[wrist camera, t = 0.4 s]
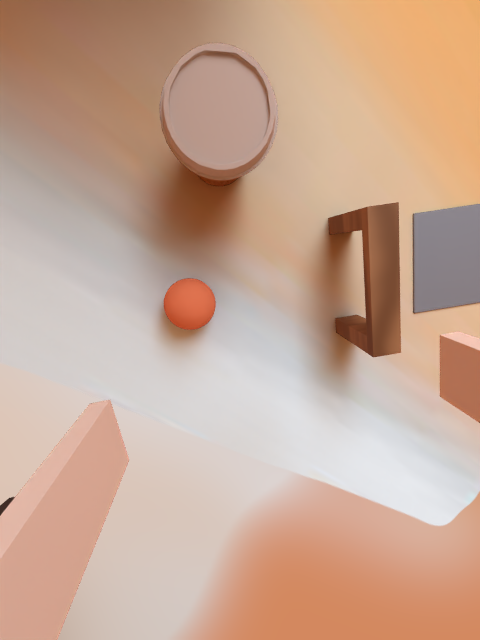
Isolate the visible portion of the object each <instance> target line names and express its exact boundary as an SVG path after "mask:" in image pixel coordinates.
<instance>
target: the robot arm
mask: <svg viewBox="0 0 480 640" xmlns="http://www.w3.org/2000/svg"><path fill="white" fill-rule="evenodd" d="M440 397H441V398H443V399H444V400H446V401H447V402H449V403H450V404H452V405H453V406H455V407H457V408H458V409H460V410H461V411H463V412H464V413H466V414H467V415H469V416H470V417H472V418H473V419H475V420H476V421H478V422H479V423H480V339H479V338H476V337H473V336H470V335H467V334H465V333H462V332H459V331H457V332H452V333H447V334H442V335H440ZM128 462H129V458H128V455H127V452H126V449H125V446H124V442H123V439H122V436H121V433H120V430H119V426H118V423H117V420H116V417H115V414H114V411H113V407H112V404H111V401H110V400H106V401H101V402H96V403H91V404H89V405H88V407H87V408H86V409H85V410H84V412H83V413H82V414H81V415H80V417H79V418H78V419H77V420H76V422H75V423H74V424H73V425H72V427H71V428H70V429H69V430H68V432H67V433H66V434H65V436H64V437H63V438H62V439H61V440H60V442H59V443H58V444H57V445H56V447H55V448H54V449H53V450H52V452H51V453H50V454H49V456H48V457H47V458H46V459H45V461H44V462H43V463H42V464H41V465H40V467H39V468H38V469H37V470H36V472H35V473H34V474H33V475H32V477H31V478H30V479H29V481H28V482H27V483H26V484H25V485H24V487H23V488H22V489H21V491H20V492H19V493H18V494H17V496H16V497H12V498H9V499H8V500H6V501H5V502H4V503H3V504H2V505H0V640H57V639H58V636H59V634H60V631H61V629H62V626H63V624H64V621H65V619H66V616H67V614H68V611H69V609H70V606H71V603H72V601H73V598H74V596H75V594H76V591H77V589H78V586H79V584H80V581H81V579H82V576H83V574H84V571H85V569H86V566H87V564H88V561H89V559H90V556H91V554H92V552H93V549H94V547H95V544H96V541H97V539H98V537H99V534H100V532H101V529H102V527H103V524H104V522H105V519H106V516H107V514H108V512H109V509H110V507H111V504H112V502H113V499H114V497H115V494H116V492H117V489H118V487H119V484H120V482H121V479H122V477H123V474H124V472H125V469H126V467H127V464H128Z"/></svg>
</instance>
